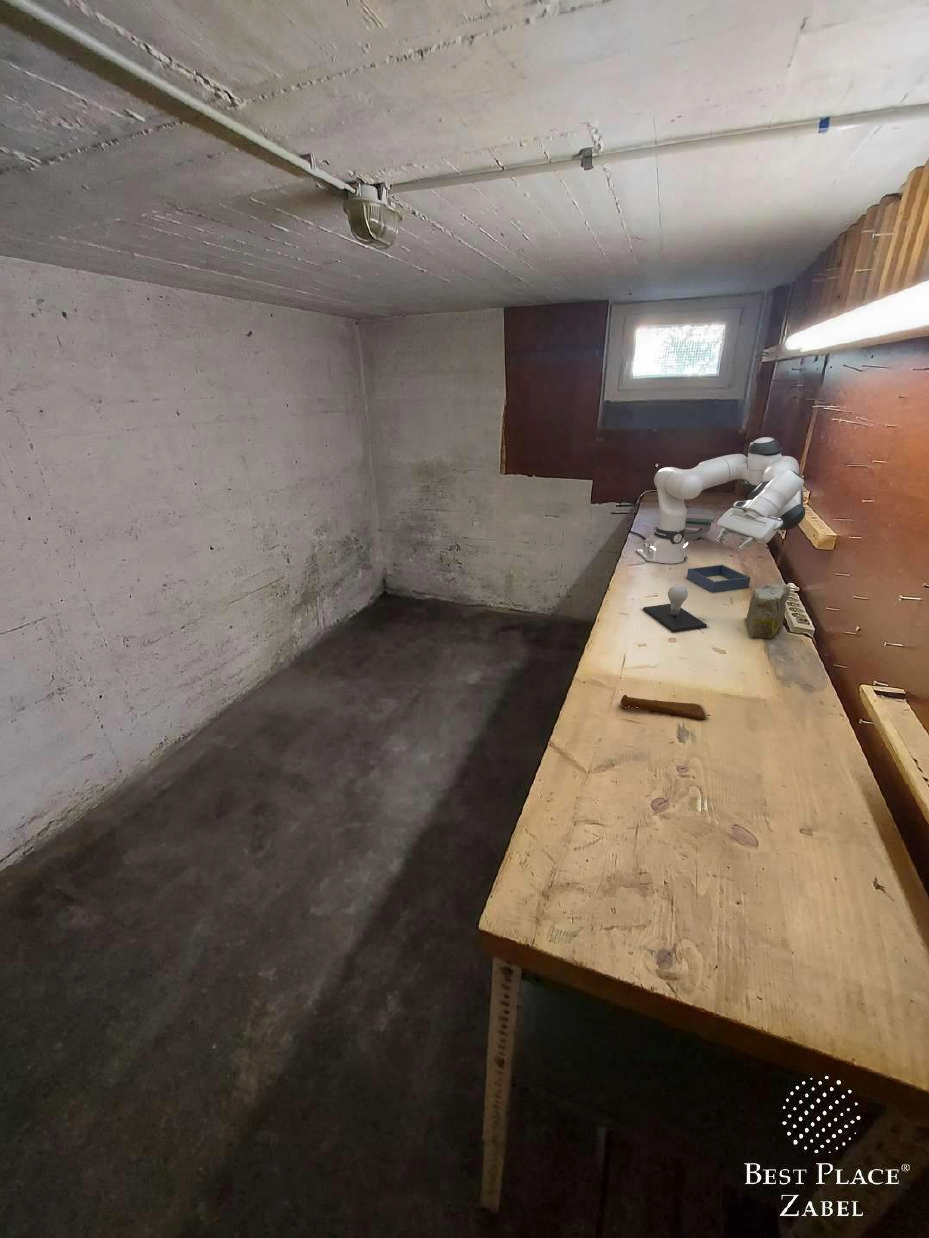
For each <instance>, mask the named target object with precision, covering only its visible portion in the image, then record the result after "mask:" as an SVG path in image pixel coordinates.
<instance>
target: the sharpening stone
mask: <svg viewBox="0 0 929 1238" xmlns="http://www.w3.org/2000/svg"><path fill="white" fill-rule="evenodd" d="M715 519H716V515H710V514H697V513H687V516H686V522H685V536H684V539H685V540H691V541H696V540H697V539H699V538H700V537H702V536H703V535H705V534H706V533H708V532H709V531H710V530H711V526H712V523H713V524H714V523H715ZM687 528H688V529H687Z"/></svg>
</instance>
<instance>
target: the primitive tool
mask: <svg viewBox="0 0 929 1238" xmlns="http://www.w3.org/2000/svg"><path fill="white" fill-rule="evenodd" d="M621 705H622V706H623V707H622V706H621ZM620 706H621V708H622V709H627V708H633V709H641V710H646V711H650V712H660V713H666V714H667V713H668V714H672V715H677V716H684V717H688V718H694V719H697V720H704V719H706V714H705V712H704V710H703V708H702V706H701V705H700V704H698V703H693V702H691V703H690V702H675V701H666V700H665V701H664V700H656V699H648V698H647V699H646V698H638V697H633V696H632V697H631V696H628V695H627V694H623V696H622V697H621V698H620ZM628 706H630V707H628ZM625 707H626V708H625ZM636 707H638V708H636Z"/></svg>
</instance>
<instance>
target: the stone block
mask: <svg viewBox="0 0 929 1238" xmlns="http://www.w3.org/2000/svg"><path fill="white" fill-rule="evenodd" d="M790 593H791V586H789V585H785V584H783V585H781V584H772V583H771V584H769V583H765V584H764V585H761V586H759V587H757V588H755V589H753V592H752V595H751V598H750V601H749V605H748V610H747V614H746V622H747V625H748V630H749V634H750V637H751V638H752V639H754V638H760V639H761V638H763V639H771V638H773V637H774V636H775V635H776V634H777V633H778V630H779V629H780V627H782V626H783V622H784V620H785V616H786V615H785V613H786V610H787V609H786V606H787V601H788V599H789V597H790V596H789V595H790Z"/></svg>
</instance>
